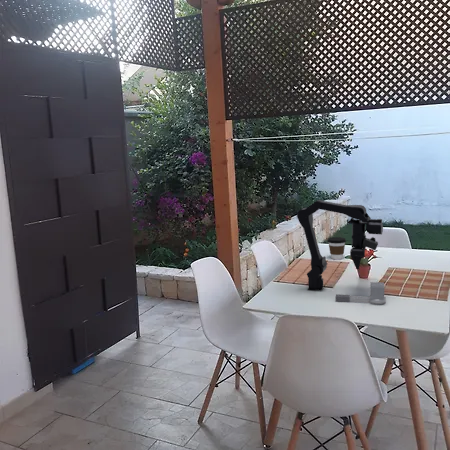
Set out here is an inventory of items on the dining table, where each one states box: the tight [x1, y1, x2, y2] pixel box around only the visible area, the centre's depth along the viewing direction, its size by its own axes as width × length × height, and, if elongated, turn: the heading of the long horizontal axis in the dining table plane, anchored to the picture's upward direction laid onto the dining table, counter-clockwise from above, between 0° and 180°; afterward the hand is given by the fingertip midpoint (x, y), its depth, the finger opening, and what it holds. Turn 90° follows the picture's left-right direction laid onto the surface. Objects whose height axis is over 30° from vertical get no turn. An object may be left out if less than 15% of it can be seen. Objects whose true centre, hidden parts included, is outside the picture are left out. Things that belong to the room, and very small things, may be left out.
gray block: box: [369, 281, 385, 300], centre depth 202 cm, size 6×6×6 cm
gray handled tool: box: [335, 293, 387, 306], centre depth 204 cm, size 21×7×6 cm, turn 74°
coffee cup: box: [327, 236, 347, 261], centre depth 278 cm, size 11×11×12 cm
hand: (358, 266), depth 215 cm, fingers open, 9 cm apart
